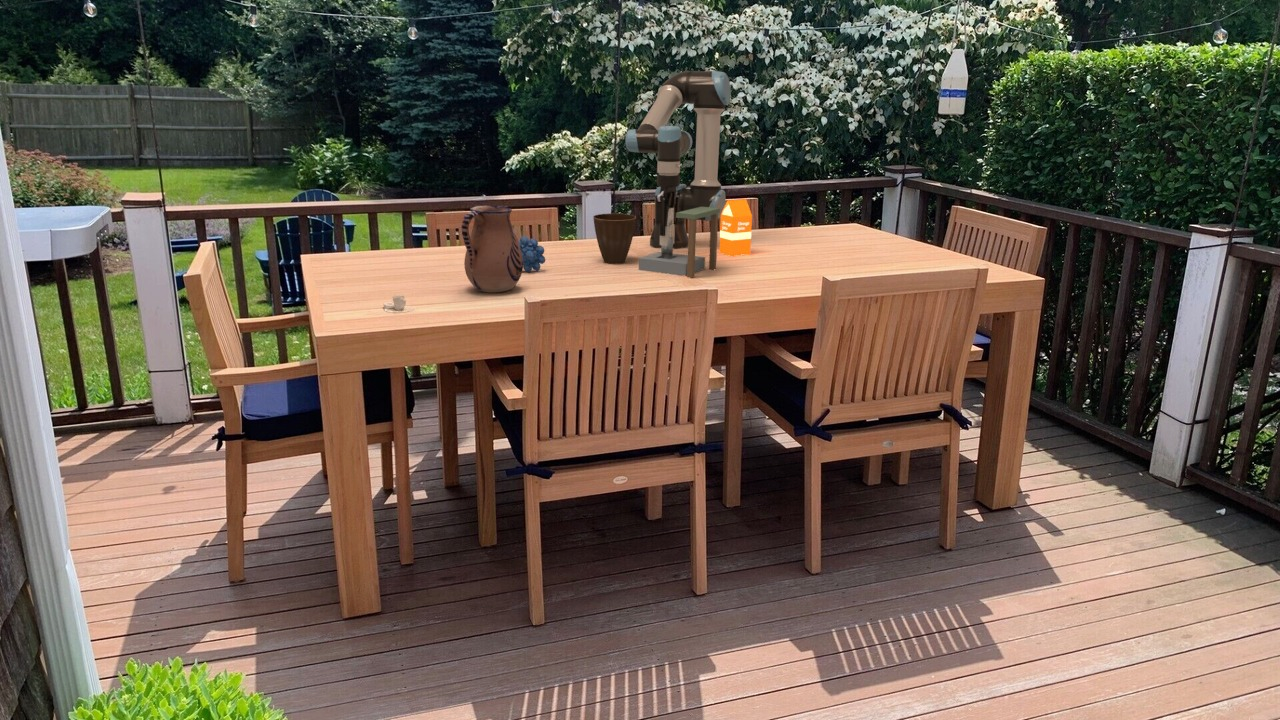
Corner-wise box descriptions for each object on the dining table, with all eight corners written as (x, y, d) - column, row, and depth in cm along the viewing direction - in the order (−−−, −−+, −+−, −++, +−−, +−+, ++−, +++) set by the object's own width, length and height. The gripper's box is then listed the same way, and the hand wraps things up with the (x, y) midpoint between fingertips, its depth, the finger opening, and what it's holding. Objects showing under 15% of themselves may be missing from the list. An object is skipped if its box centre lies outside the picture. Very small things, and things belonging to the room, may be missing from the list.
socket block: (638, 269, 313) (638, 258, 311) (658, 263, 324) (659, 251, 323) (685, 275, 304) (685, 264, 303) (704, 268, 315) (705, 257, 314)
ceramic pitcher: (534, 286, 286) (532, 205, 278) (497, 301, 267) (494, 214, 260) (486, 281, 292) (482, 202, 285) (447, 295, 274) (442, 210, 267)
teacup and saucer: (379, 308, 259) (378, 294, 258) (407, 305, 263) (406, 291, 262) (389, 315, 252) (388, 301, 251) (417, 312, 256) (416, 297, 255)
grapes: (514, 275, 301) (513, 239, 298) (509, 271, 307) (508, 235, 304) (548, 273, 305) (548, 237, 302) (543, 269, 311) (543, 234, 308)
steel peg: (669, 256, 311) (670, 208, 306) (658, 255, 313) (659, 207, 308) (674, 254, 314) (676, 207, 309) (664, 253, 316) (665, 206, 311)
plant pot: (643, 264, 322) (643, 218, 317) (604, 267, 316) (604, 220, 311) (624, 256, 335) (624, 212, 330) (586, 259, 328) (586, 214, 323)
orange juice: (750, 254, 342) (753, 200, 336) (731, 256, 337) (733, 201, 331) (737, 251, 348) (740, 197, 342) (718, 253, 344) (720, 199, 338)
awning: (674, 275, 304) (676, 212, 298) (699, 266, 319) (701, 206, 312) (693, 278, 300) (695, 214, 294) (717, 269, 315) (720, 208, 309)
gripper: (666, 177, 297) (664, 249, 304) (690, 172, 311) (688, 241, 318) (645, 175, 300) (644, 246, 307) (671, 171, 314) (669, 239, 321)
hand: (667, 244), depth 312 cm, fingers closed on steel peg, 4 cm apart
